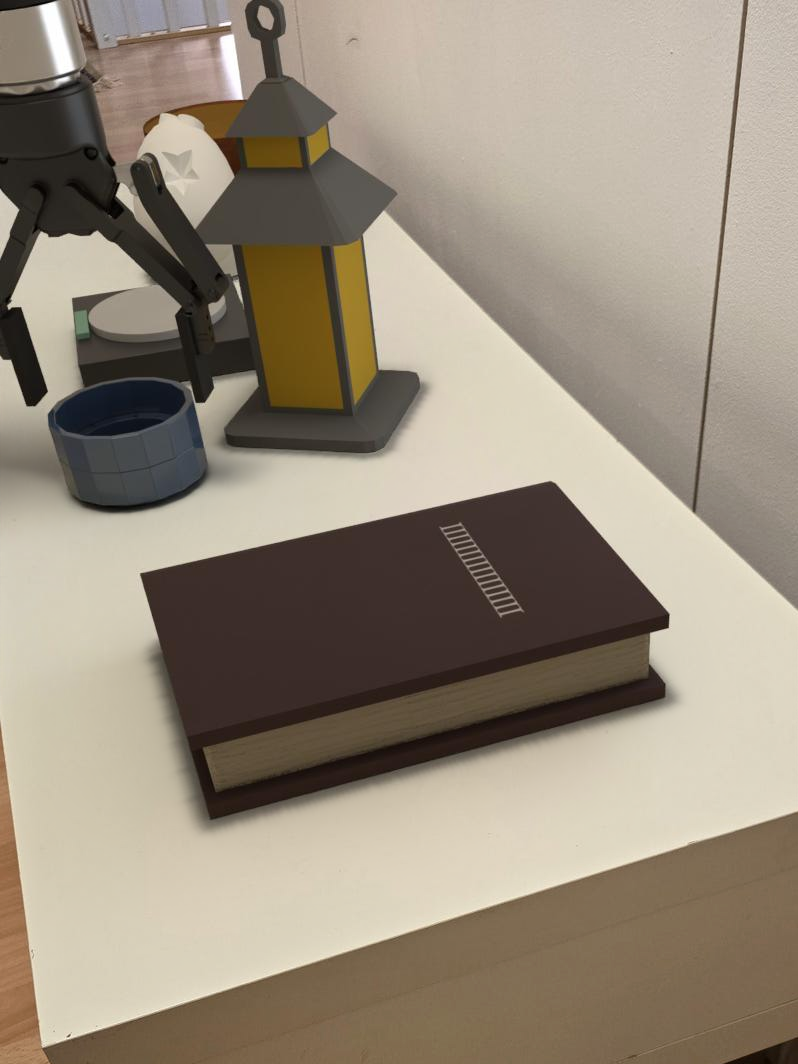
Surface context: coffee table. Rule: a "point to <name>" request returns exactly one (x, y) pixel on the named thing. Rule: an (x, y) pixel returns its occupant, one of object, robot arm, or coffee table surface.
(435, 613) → the book
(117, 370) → the scale
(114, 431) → the glazed bowl
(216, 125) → the bowl
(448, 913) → the coffee table surface
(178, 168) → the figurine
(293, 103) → the lantern
